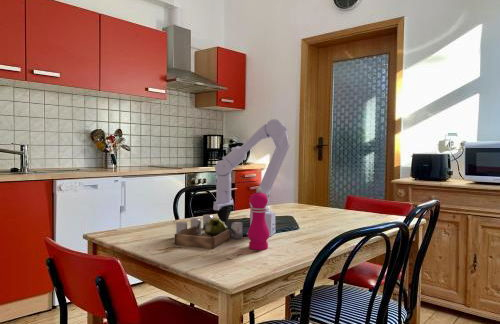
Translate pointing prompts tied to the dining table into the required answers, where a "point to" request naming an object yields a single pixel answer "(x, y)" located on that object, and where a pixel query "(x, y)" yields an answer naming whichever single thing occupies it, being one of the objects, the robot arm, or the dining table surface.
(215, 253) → the dining table surface
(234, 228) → the tin left
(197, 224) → the tin right near
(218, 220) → the pale green lumpy ball
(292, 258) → the dining table surface
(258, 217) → the pepper mill
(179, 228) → the tin right far
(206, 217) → the grey metal cylinder
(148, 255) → the dining table surface
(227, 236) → the tray
